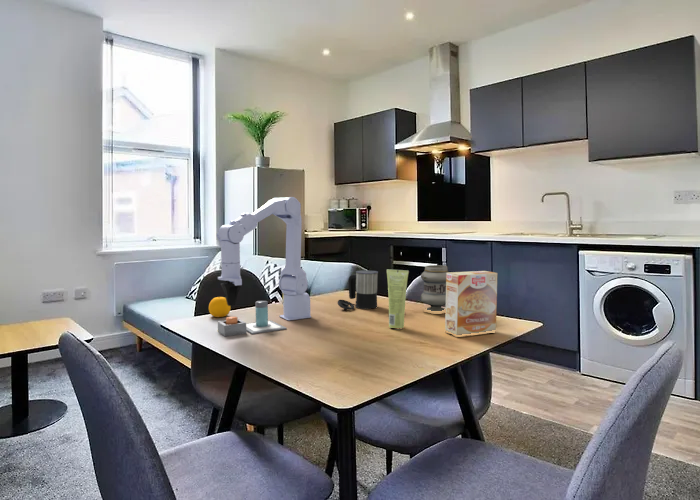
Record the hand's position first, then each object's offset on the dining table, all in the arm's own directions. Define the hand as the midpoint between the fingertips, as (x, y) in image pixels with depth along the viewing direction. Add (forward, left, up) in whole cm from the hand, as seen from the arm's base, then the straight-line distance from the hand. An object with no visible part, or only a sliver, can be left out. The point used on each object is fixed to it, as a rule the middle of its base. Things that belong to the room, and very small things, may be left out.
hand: (231, 305), depth 145 cm
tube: (-48, +24, -9) cm, 54 cm away
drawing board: (-11, -1, -9) cm, 14 cm away
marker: (-11, -1, -8) cm, 13 cm away
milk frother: (-56, -11, -9) cm, 57 cm away
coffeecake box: (-63, +42, -9) cm, 77 cm away
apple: (-4, -26, -9) cm, 28 cm away
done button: (0, 0, -6) cm, 6 cm away
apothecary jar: (-77, +12, -9) cm, 78 cm away
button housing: (0, 0, -9) cm, 9 cm away
